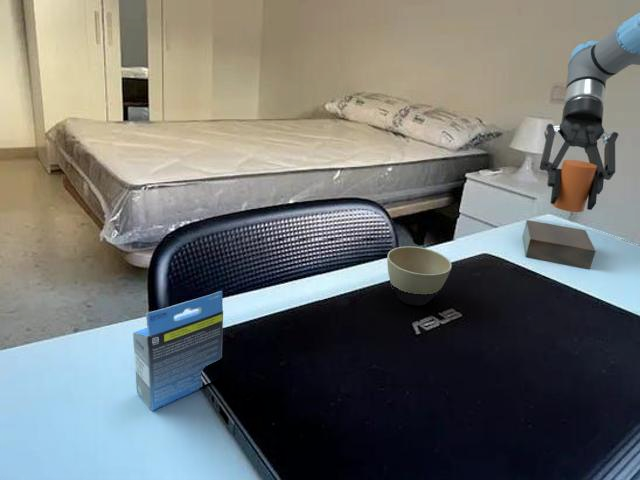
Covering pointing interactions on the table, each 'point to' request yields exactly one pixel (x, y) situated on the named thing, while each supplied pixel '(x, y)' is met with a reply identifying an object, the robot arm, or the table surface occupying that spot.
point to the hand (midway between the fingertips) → (572, 203)
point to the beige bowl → (417, 269)
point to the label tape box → (177, 349)
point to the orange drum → (575, 185)
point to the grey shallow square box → (558, 244)
